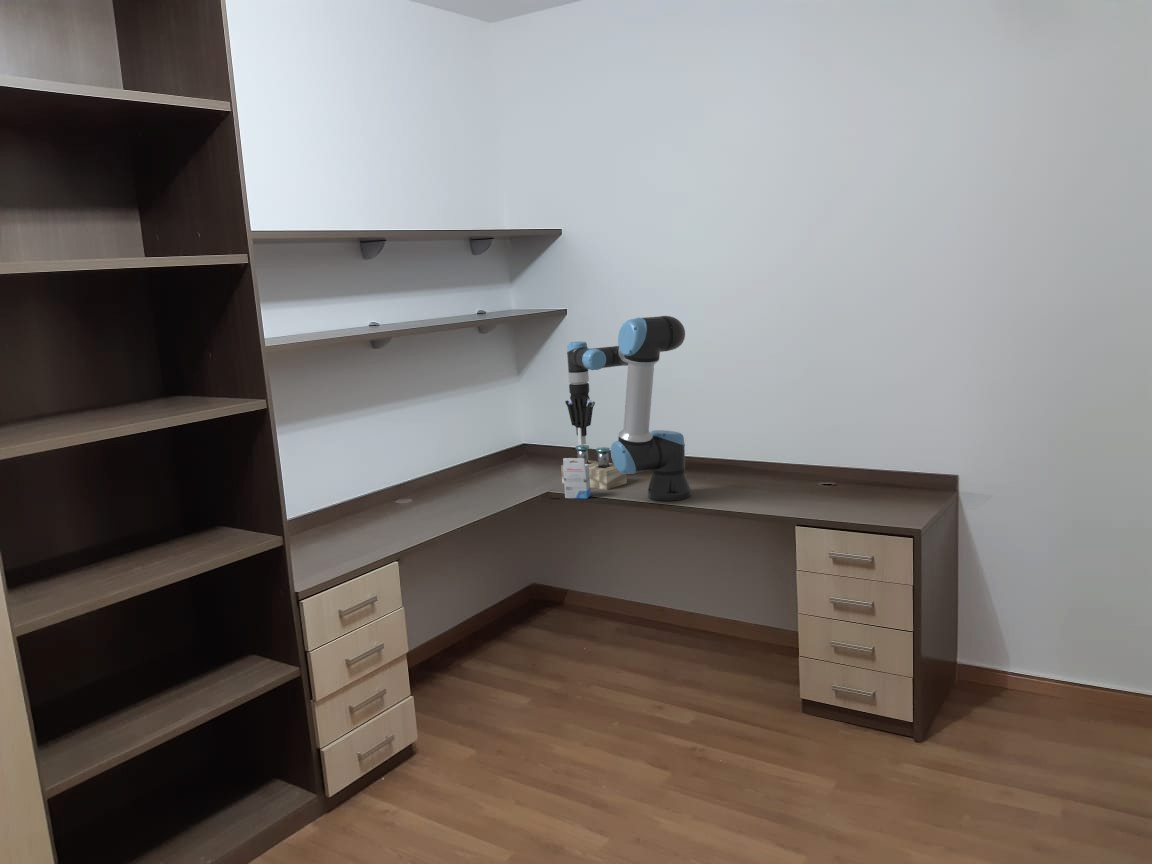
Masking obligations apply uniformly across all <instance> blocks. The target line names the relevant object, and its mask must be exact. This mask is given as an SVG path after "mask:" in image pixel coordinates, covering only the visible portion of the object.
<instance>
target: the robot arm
mask: <svg viewBox="0 0 1152 864" xmlns="http://www.w3.org/2000/svg"><path fill="white" fill-rule="evenodd" d="M685 338H686V330H685V326H684V325H683V323H682V322H681V321H680V320H679V319H678V318H676V317H674V316H670V315H661V316H651V317H650V316H649V317H648V316H647V317H636V318H630V319H627V320H626V321H625V322H624V323H623V324H622V325H621V327H620V329H619V331H618V335H617V344H618V345H615V346H614V345H612V346H604V347H593V348H589V347H588V344H587V342H586V341H571V342H568V343H567V346H566V348H567V349H566V354H567V368H568V371H567V372H568V383H569V384H568V390H569V391H568V392H569V394H570V395H569V399H568V400H565V402H564V403H565V405H566V406H567V410H568V414H569V419H570V423H571V426H574V427H575V430H576V436H577V442H578V445H577V446H579V445H587V442H586V440H587V439H586V436H587V435H588V433H587V431H588V430H587V427H590V426H591V424H592V418H593V410H594V407H595V404H596V403H595V401H592V399H591V398H590V396H589V393H590V383H589V381H590V378H589V371H598V370H601V369H605V368H612V367H623V366H624V367H626V366H627V375H626V376H627V377H626V378H627V379H626V390H625V391H626V392H625V401H624V402H625V405H624V419H623V429H621V431H619V432H618V439H617V440H615V441H614V442H613V443H612V444H611V446H610V457H611V461H612V463H614V465H615V467H616V469H617V470H618V471H619V472H621V473H622V474H626V475H630V474H633V475H634V474H637V473H642V472H649V471H651V477H650V482H649V485H648V489H647V497H648V498H649V499H651V500H654V501H665V502H668V501H669V502H670V501H671V502H672V501H681V500H684V499H685V500H686V499H688V498H690V497H691V496H692V488H691V486H690V483H689V481H688V478H687V475H686V459H685V458H686V455H685V449H686V448H685V446H686V445H685V437H684V435H683V434H682V433H681V432H679V431H672V430H663V429H662V430H661V429H658V430H657V429H656V430H651V431H649V430H650V423H651V422H650V421H651V420H650V419H651V408H652V407H651V406H652V398H653V397H652V395H653V384H654V372H655V364H657V363H658V362H659V361H660V356H661V355H660V354H661V353H662V352H670V351H673V350H676V349H678V348H679V347H680V346H682V344H683V343H684V341H685Z"/></svg>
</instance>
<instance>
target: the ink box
mask: <svg viewBox="0 0 1152 864" xmlns="http://www.w3.org/2000/svg"><path fill="white" fill-rule="evenodd" d="M562 460H563V461H562V465H563V473H564V483H563V485H564V498H565V499H585V500H586V499H588V498H590V497H591V495H592V493H591V492H592V491H591V487H590V474H589V464H585V460H584V458H578V457H576V458H575V457H568V458H567V457H564V458H562ZM574 461H577V462H578V463H571V462H574Z"/></svg>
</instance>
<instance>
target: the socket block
mask: <svg viewBox="0 0 1152 864" xmlns="http://www.w3.org/2000/svg"><path fill="white" fill-rule="evenodd" d="M570 463H578V462H577V461H570ZM588 464H589V474H590V489H598V490H605V491H608V490H612V489H614V488H617V487H620V486H623V485H626V484H627V483H628V481H627V480H628V479H627V478H628V477H627V475H628V474H622V473H621V472H619V471H618V470H617V469H616V467H615V465H614V463H613V462H609V467H608V468H598V460H589V459H588ZM560 468H561V469H560V470H561V484H564V473H563V464H561V465H560Z"/></svg>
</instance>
